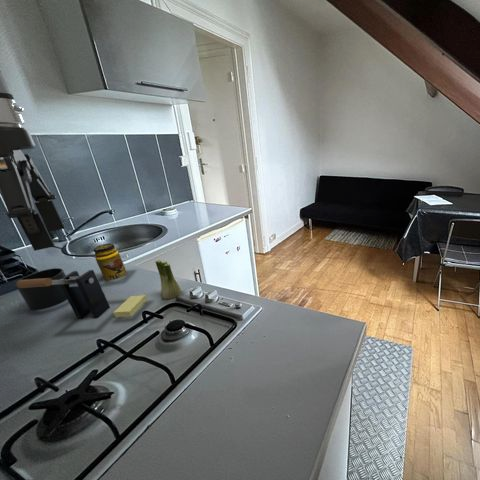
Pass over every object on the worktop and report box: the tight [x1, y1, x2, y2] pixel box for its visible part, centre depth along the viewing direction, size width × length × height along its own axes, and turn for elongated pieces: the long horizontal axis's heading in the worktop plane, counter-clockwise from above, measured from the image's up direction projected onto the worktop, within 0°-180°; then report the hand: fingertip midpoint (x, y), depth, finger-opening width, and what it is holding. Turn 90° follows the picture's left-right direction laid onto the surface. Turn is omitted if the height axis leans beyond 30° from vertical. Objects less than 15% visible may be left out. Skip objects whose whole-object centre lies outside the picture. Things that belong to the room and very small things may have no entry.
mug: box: [15, 267, 68, 311], centre depth 74 cm, size 9×12×9 cm
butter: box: [112, 294, 148, 318], centre depth 68 cm, size 7×4×3 cm, turn 2°
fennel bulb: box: [155, 259, 182, 301], centre depth 71 cm, size 6×5×12 cm
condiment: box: [92, 243, 128, 281], centre depth 84 cm, size 7×8×12 cm
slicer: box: [59, 269, 111, 320], centre depth 65 cm, size 12×9×13 cm
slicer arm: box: [16, 275, 81, 288], centre depth 59 cm, size 12×6×2 cm, turn 1°
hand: (51, 238), depth 54 cm, fingers open, 13 cm apart
